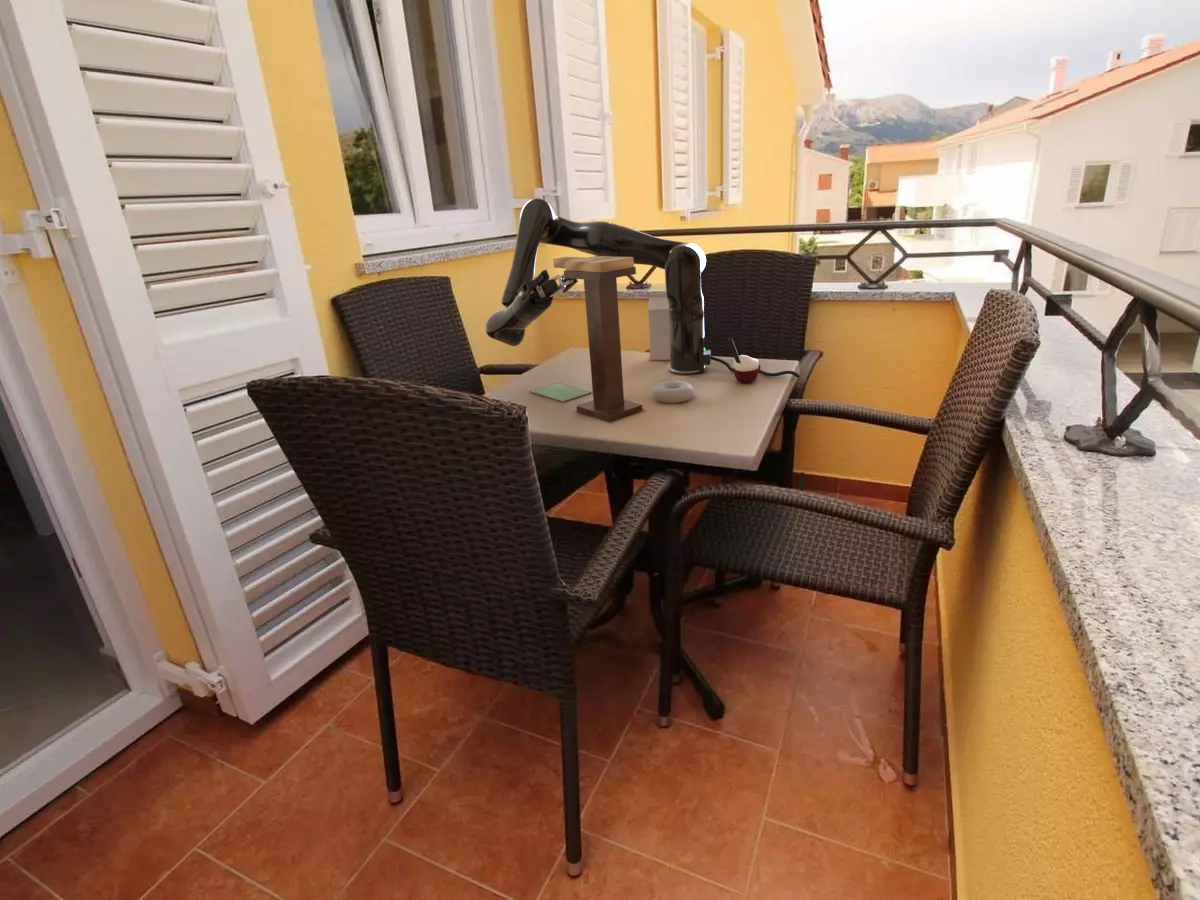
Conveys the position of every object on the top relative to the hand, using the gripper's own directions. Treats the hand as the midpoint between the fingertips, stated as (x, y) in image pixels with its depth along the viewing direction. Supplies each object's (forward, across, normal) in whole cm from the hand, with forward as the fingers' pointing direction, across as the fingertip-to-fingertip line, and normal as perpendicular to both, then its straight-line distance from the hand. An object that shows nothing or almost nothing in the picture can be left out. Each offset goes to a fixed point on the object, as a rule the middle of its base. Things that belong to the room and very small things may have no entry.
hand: (562, 271), depth 143 cm
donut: (0, +16, +36) cm, 40 cm away
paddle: (+9, 0, +4) cm, 10 cm away
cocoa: (+5, +37, +39) cm, 54 cm away
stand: (-4, 0, +34) cm, 34 cm away
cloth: (-23, +2, +23) cm, 32 cm away
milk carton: (-26, +43, +21) cm, 54 cm away
